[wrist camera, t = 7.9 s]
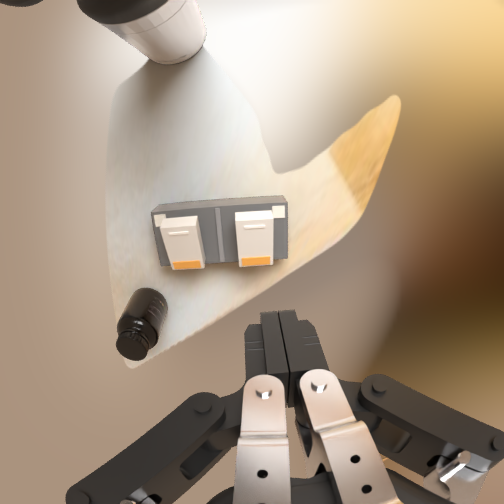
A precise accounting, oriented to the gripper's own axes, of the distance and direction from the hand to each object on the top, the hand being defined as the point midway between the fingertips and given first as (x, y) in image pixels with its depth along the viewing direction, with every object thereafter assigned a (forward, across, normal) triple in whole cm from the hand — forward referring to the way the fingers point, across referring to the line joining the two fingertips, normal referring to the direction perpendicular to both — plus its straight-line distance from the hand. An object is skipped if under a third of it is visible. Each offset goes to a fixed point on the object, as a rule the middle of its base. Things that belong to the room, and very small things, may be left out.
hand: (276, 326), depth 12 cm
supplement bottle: (+29, +18, +18) cm, 39 cm away
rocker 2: (+23, 0, +5) cm, 23 cm away
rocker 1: (+23, +9, +5) cm, 25 cm away
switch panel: (+29, +4, +5) cm, 30 cm away
